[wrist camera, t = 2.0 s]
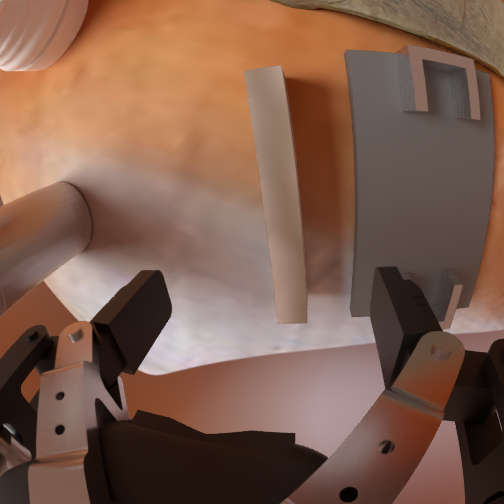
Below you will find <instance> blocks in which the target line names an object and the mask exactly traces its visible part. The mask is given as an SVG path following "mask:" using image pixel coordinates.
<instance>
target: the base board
mask: <svg viewBox="0 0 504 504" xmlns="http://www.w3.org/2000/svg"><path fill="white" fill-rule="evenodd" d="M344 57H345V64H346V71H347V79H348V87H349V96H350V105H351V116H352V129H353V145H354V167H355V240H354V262H353V278H352V292H351V303H350V311H351V316H352V317H365V316H370V303H371V296H372V287H373V278H374V271H375V268H376V267H386V266H396V267H397V268H398V270H399V271H407V273H408V274H409V276H410V278H411V279H412V281H413V282H414V283H415V284H417V285H418V286H419V287H420V288H421V290H422V292H423V294H424V296H425V298H426V299H427V301H428V303H429V304H434V302H435V298H436V294H437V290H438V286H439V281H440V277H441V272H442V269H451V270H452V271H453V273H454V274H455V275H456V276H457V277H458V279H459V280H460V281H461V283H462V284H463V286H462V290H461V294H460V297H459V301H458V304H457V307H456V309H457V308H465V307H468V306H469V303H470V300H471V297H472V293H473V290H474V286H475V283H476V279H477V275H478V272H479V268H480V263H481V259H482V255H483V250H484V245H485V240H486V234H487V229H488V222H489V216H490V208H491V199H492V189H493V176H494V115H493V102H492V93H491V85H490V77H489V74H488V73H485V72H482V71H479V70H475V72H476V78H477V86H478V94H479V105H480V119H481V120H469V119H459V118H453V108H452V96H451V87H450V79H449V73H447V72H442V71H437V70H431V69H425V68H423V69H424V76H425V84H426V93H427V103H428V112H403V111H402V105H401V94H400V85H399V77H398V70H397V64H396V57H395V53H387V52H376V51H361V50H346V52H345V54H344Z"/></svg>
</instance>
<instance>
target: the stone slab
mask: <svg viewBox="0 0 504 504" xmlns="http://www.w3.org/2000/svg"><path fill="white" fill-rule="evenodd" d="M270 1H274V2H277V3H280V4H282V5H285V6H288V7H291V8H298V9H307V10H311V9H317V8H325V9H330V10H336V11H340V12H345V13H349V14H353V15H357V16H361V17H365V18H368V19H371V20H374V21H378V22H381V23H384V24H387V25H390V26H392V27H396V28H399V29H402V30H404V31H407V32H409V33H411V34H413V35H416V36H419V37H422V38H424V39H427V40H429V41H431V42H433V43H435V44H437V45H439V46H442V47H444V48H447V49H450V50H452V51H454V52H456V53H458V54H460V55H462V56H464V57H467V58H470V59H473V60H474V61H475V62H477V63H479V64H481V65H483V66H485V67H487V68H489V69H490V70H492V71H493V72H494V73H496V74H498V75H499V76H500V78H502V79H503V80H504V1H503V0H270Z"/></svg>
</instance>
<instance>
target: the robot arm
mask: <svg viewBox="0 0 504 504" xmlns="http://www.w3.org/2000/svg"><path fill="white" fill-rule="evenodd" d="M91 234H92V221H91V216H90V212H89V209H88V206H87V204H86V202H85V200H84V198H83V197H82V195H81V194H80V193H79V192H78V190H77V189H76V188H75V187H73V186H72V185H70V184H68V183H65V182H58V183H55V184H52V185H50V186H47V187H44V188H42V189H40V190H37V191H34V192H32V193H30V194H27V195H25V196H23V197H20V198H18V199H16V200H14V201H12V202H10V203H7V204H5V205H3V206H1V207H0V317H1V316H2V315H3V314H4V313H5V312H6V311H7V310H8V309H9V308H11V307H12V306H13V305H14V304H15V303H16V302H17V301H19V300H20V299H21V298H22V297H23V296H25V295H26V294H27V293H28V292H29V291H30V290H32V289H33V288H34V287H35V286H37V285H38V284H39V283H40V282H41V281H43V280H44V279H45V278H47V277H48V276H49V275H51V274H52V273H53V272H54V271H56V270H57V269H58V268H60V267H61V266H62V265H64V264H65V263H66V262H68V261H69V260H70V259H72V258H73V257H75V256H76V255H77V254H79V253H80V252H81V251H83V250H84V249H85V248H86V247H87V246H88V244H89V242H90V239H91ZM171 313H172V304H171V300H170V297H169V294H168V290H167V287H166V284H165V280H164V277H163V274H162V272H161V271H159V270H142V271H140V272H139V273H138V274H137V275H136V276H135V277H134V278H133V279H132V280H131V282H130V283H129V284H127V285H126V286H124V287H123V288H121V289H120V290H119V291H118V292H117V293H116V294H115V295H114V297H112V298H111V300H110V301H109V303H107V304H106V305H105V306H104V307H103V308H102V309H101V310H100V311H99V312H98V313H97V314H96V316H95V317H94V318H93V319H92V320H91V321H90V322H87V321H79V322H76V323H73V324H71V325H69V326H68V327H66V328H65V329H64V330H63V331H62V332H61V334H60V336H52V337H51V336H50V335H49V333H48V331H47V329H46V327H45V326H43V325H36V326H33V327H31V328H29V329H28V330H26V331H25V332H24V333H23V334H22V335H21V336H20V338H19V339H18V340H17V341H16V342H15V343H14V344H13V345H12V346H11V347H10V349H9V350H8V351H7V352H6V353H5V354H4V356H3V357H2V358H1V359H0V504H392V503H393V502H394V500H395V499H396V498H397V496H398V495H399V494H400V492H401V491H402V489H403V488H404V486H405V485H406V483H407V482H408V480H409V479H410V477H411V476H412V474H413V473H414V471H415V469H416V468H417V466H418V465H419V463H420V461H421V459H422V457H423V456H424V454H425V453H426V451H427V449H428V447H429V445H430V444H431V442H432V440H433V438H434V436H435V434H436V432H437V430H438V428H439V426H440V424H441V422H442V420H446V421H447V420H448V421H455V425H456V430H457V435H458V440H459V446H460V453H461V460H462V468H463V476H464V487H465V504H504V339H499V340H496V341H495V342H493V344H492V345H491V347H490V349H489V351H488V353H485V352H475V351H467V350H465V349H464V346H463V344H462V342H461V341H460V340H459V339H458V338H457V337H456V336H454V335H452V334H450V333H447V332H443V330H442V328H441V326H440V324H439V322H438V320H437V318H436V316H435V314H434V312H433V311H432V309H431V307H430V306H429V303H428V301H427V299H426V298H425V296H424V294H423V292H422V290H421V288H420V287H419V286H418V285H417V284H415V283H414V282H413V281H411V280H410V279H408V280H403V278H402V276H401V274H400V272H399V270H398V268H397V267H396V266H386V267H376V268H375V271H374V278H373V287H372V296H371V303H370V318H371V323H372V328H373V332H374V336H375V340H376V344H377V349H378V354H379V358H380V363H381V368H382V373H383V379H384V383H385V390H384V391H383V392H382V394H381V395H380V396H379V398H378V399H377V401H376V402H375V403H374V405H373V406H372V407H371V409H370V410H369V411H368V413H367V414H366V415H365V416H364V418H363V419H362V420H361V421H360V423H359V424H358V425H357V427H356V428H355V429H354V430H353V431H352V432H351V434H350V435H349V436H348V437H347V438H346V439H345V441H344V442H343V443H342V444H341V445H340V446H339V447H338V449H337V450H336V451H335V452H334V453H333V454H332V455H331V456H330V457H329V458H328V457H326V456H325V455H323V454H321V453H319V452H317V451H315V450H313V449H310V448H308V447H305V446H301V445H298V444H295V433H278V432H263V431H243V432H232V433H219V434H205V433H202V432H199V431H197V430H195V429H193V428H191V427H188V426H186V425H184V424H182V423H180V422H178V421H176V420H174V419H172V418H169V417H165V416H161V415H156V414H152V413H148V412H145V411H141V410H137V412H136V414H135V416H134V418H133V419H130V418H129V415H128V410H127V405H126V400H125V395H124V389H123V383H122V380H121V378H120V377H119V375H120V373H121V372H124V373H128V374H133V375H134V374H135V372H136V371H137V369H138V368H139V366H140V364H141V363H142V361H143V360H144V358H145V356H146V355H147V353H148V352H149V350H150V348H151V347H152V345H153V344H154V342H155V340H156V339H157V337H158V336H159V334H160V333H161V331H162V330H163V328H164V326H165V325H166V323H167V322H168V320H169V319H170V317H171ZM34 367H35V369H36V370H37V372H38V373H39V375H40V376H41V377H42V378H41V385H40V389H39V390H38V391H37V393H36V394H35V396H34V397H33V399H32V400H31V401H30V403H28V402H27V400H26V399H25V398H24V397H23V395H22V393H21V385H22V383H23V381H24V380H25V379H26V377H27V376H28V375H29V373H30V372H31V371H32V370H33V368H34ZM496 410H497V412H498V415H499V419H500V423H501V426H502V430H501V426H500V423H499V419H498V416H497V412H496ZM3 424H4V426H3Z"/></svg>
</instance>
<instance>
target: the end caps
mask: <svg viewBox="0 0 504 504" xmlns="http://www.w3.org/2000/svg"><path fill="white" fill-rule="evenodd" d="M395 57H396V64H397V70H398V77H399V85H400V94H401V105H402V111H403V112H428V103H427V93H426V84H425V76H424V69H423V68H425V69H431V70H437V71H442V72H447V73H449V79H450V87H451V96H452V108H453V118H459V119H469V120H481V119H480V105H479V94H478V86H477V78H476V72H475V66H474V60H473V59H470V58H467V57H463V56H460V55H456V54H452V53H448V52H443V51H439V50H434V49H429V48H424V47H419V46H413V45H406V46H405V47H403V48H402V49H400V50H399V51H398V52H396V53H395ZM399 272H400V274H401V276H402V278H403V280H408V279H410V280H411V281H412V279H411V278H410V276H409V274H408V273H407V271H399ZM462 286H463V284H462V283H461V281H460V280H459V279H458V277H457V276H456V275H455V274H454V273H453V271H452V270H451V269H442V272H441V277H440V281H439V286H438V290H437V294H436V298H435V302H434V304H429V306H430V307H431V309H432V311H433V312H434V314H435V316H436V318H437V320H438V322H439V324H440V326H441V328H442V329H449V328H450V326H451V323H452V320H453V317H454V314H455V310H456V307H457V304H458V301H459V297H460V294H461V290H462Z"/></svg>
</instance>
